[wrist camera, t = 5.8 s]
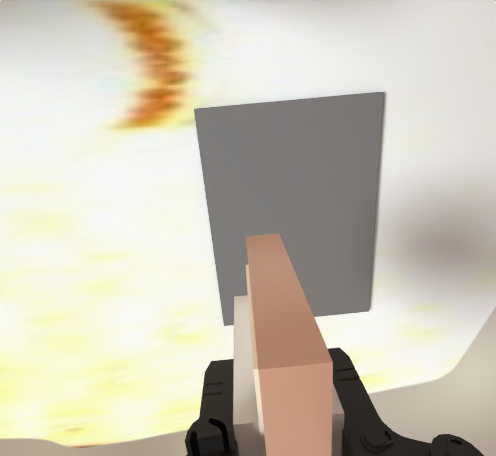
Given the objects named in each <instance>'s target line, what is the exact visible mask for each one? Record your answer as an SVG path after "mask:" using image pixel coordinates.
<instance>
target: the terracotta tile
mask: <svg viewBox="0 0 496 456" xmlns="http://www.w3.org/2000/svg"><path fill="white" fill-rule="evenodd" d="M246 245H247V256H248V265H246V278H247V292H248V305H249V319H250V332H251V346H252V360H253V372H254V382H255V392H256V401H257V411H258V421H259V431H260V441H261V450H262V456H331V447H332V387H333V361H332V359H331V357H330V354H329V352H328V349H327V347H326V345H325V342H324V340H323V337H322V335H321V333H320V330H319V328H318V326H317V323H316V321H315V318H314V316H313V314H312V311H311V309H310V306H309V304H308V302H307V299H306V297H305V295H304V292H303V290H302V287H301V285H300V283H299V280H298V278H297V275H296V273H295V271H294V268H293V266H292V263H291V261H290V259H289V256H288V254H287V252H286V249H285V247H284V244H283V242H282V240H281V237H280V235H279V233H277V234H266V235H256V236H246Z"/></svg>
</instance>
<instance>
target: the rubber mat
mask: <svg viewBox="0 0 496 456" xmlns="http://www.w3.org/2000/svg"><path fill="white" fill-rule="evenodd" d="M382 107H383V92H375V93H364V94H353V95H342V96H331V97H320V98H309V99H298V100H287V101H276V102H265V103H254V104H243V105H232V106H221V107H210V108H199V109H194V113H195V120H196V127H197V134H198V141H199V149H200V156H201V163H202V170H203V177H204V185H205V192H206V199H207V206H208V213H209V221H210V228H211V235H212V242H213V249H214V257H215V264H216V271H217V278H218V285H219V292H220V300H221V307H222V314H223V321H224V326H227V325H234V297H236V296H246V295H248V292H247V278H246V265H248V256H247V245H246V236H256V235H266V234H277V233H279V235H280V237H281V240H282V242H283V244H284V247H285V249H286V252H287V254H288V256H289V259H290V261H291V263H292V266H293V268H294V271H295V273H296V275H297V278H298V280H299V283H300V285H301V287H302V290H303V292H304V295H305V297H306V299H307V302H308V304H309V306H310V309H311V311H312V314H313V316H314V317H317V316H327V315H337V314H347V313H357V312H367V311H369V302H370V287H371V272H372V257H373V242H374V227H375V212H376V197H377V182H378V167H379V152H380V137H381V122H382Z"/></svg>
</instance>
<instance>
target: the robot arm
mask: <svg viewBox="0 0 496 456" xmlns="http://www.w3.org/2000/svg"><path fill="white" fill-rule="evenodd" d="M328 352H329V354H330V357H331V359H332V361H333V387H332V447H331V456H484V455H483V454H482V453H481V452H480V451H479V450H477V449H476V448H475V447H474V446H473V445H472V444H471V443H469V442H467V441H465V440H464V439H462V438H460V437H457V436H454V435H450V434H442V435H438V436H437V437H435V438H434V439H433V441H432V444H431V443H426V442H421V441H417V440H413V439H409V438H406V437H403V436H400V435H399V434H397V433H395V432H393V431H392V430H391V429H390V428H389V427H388V426H387V425H385V424H384V423H383V422H382V420H381V419H380V417H379V416H378V414H377V412H376V410H375V408H374V406H373V404H372V402H371V400H370V398H369V396H368V394H367V391H366V389H365V387H364V385H363V383H362V381H361V380H360V378H359V375H358V373H357V371H356V370H355V367H354V365H353V363H352V361H351V359H350V357H349V356H348V355H347V354H346V353H345V352H344V351H342V350H341V349H340V348H331V349H328ZM185 443H186V448H187V452H188V454H187V455H186V456H262V450H261V441H260V431H259V421H258V411H257V401H256V392H255V382H254V372H253V360H252V346H251V332H250V319H249V305H248V295H246V296H236V297H234V359H229V360H219V361H211V363H210V365H209V366H208V368H207V370H206V371H205V377H204V386H203V393H202V401H201V409H200V417H199V419H198V420H197V421H195V422H194V423H193V424H192V425H191V427H190V428H189V430H188V431H187V435H186V439H185Z"/></svg>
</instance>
